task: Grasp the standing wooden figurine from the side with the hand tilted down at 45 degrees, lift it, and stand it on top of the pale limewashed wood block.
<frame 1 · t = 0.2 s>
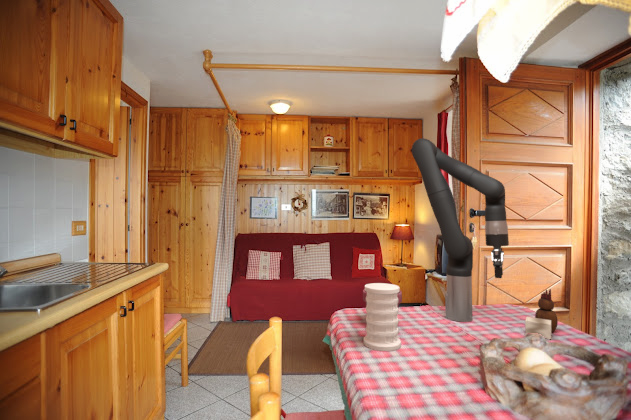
hand: (499, 276, 120), 18 cm above the table, tool pointing down, fingers open, 8 cm apart
decorative container: (382, 344, 101), on the table
limewashed block: (538, 335, 109), on the table
plant pot: (382, 325, 120), on the table
wooden figurine: (546, 331, 114), on the table
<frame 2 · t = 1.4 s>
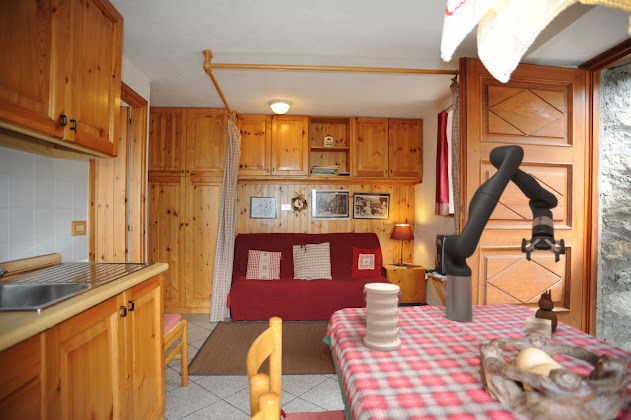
hand: (542, 260, 124), 24 cm above the table, tool tilted 45°, fingers open, 8 cm apart
nothing on the table moved.
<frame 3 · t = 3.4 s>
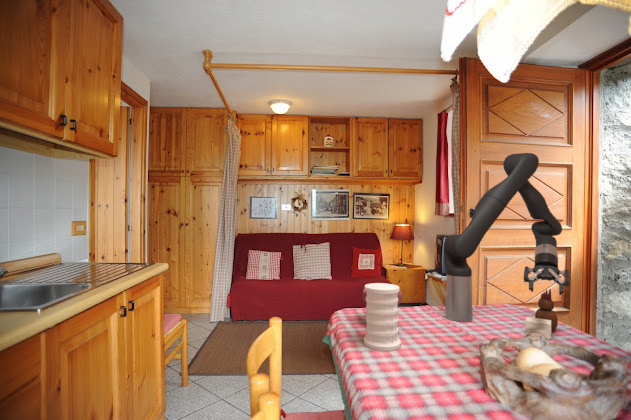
hand: (546, 292, 119), 13 cm above the table, tool tilted 45°, fingers open, 8 cm apart
nothing on the table moved.
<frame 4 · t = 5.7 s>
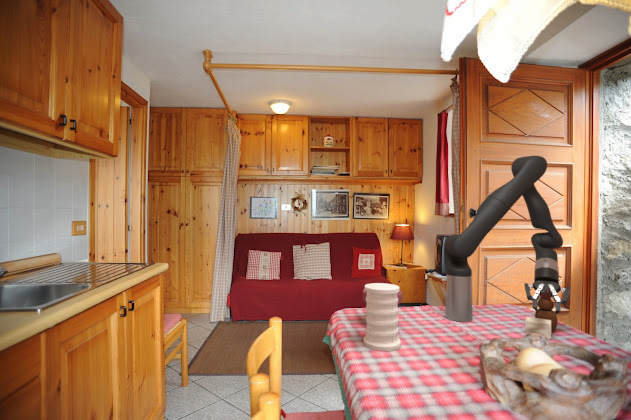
hand: (546, 311, 113), 7 cm above the table, tool tilted 45°, fingers closed on wooden figurine, 5 cm apart
wooden figurine: (546, 331, 114), on the table, touching gripper
everything else where it was.
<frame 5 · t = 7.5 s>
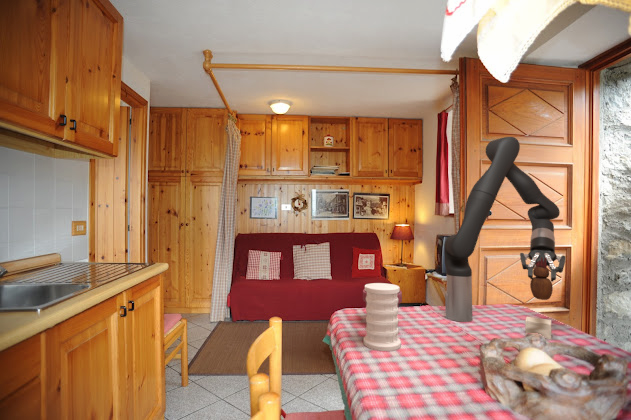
hand: (541, 278, 112), 19 cm above the table, tool tilted 45°, fingers closed on wooden figurine, 5 cm apart
wooden figurine: (541, 299, 113), point 11 cm above the table, touching gripper
everything else where it was.
when the fingers open (14 cm above the table, at t = 9.6 s): wooden figurine drops 1 cm, resting on limewashed block.
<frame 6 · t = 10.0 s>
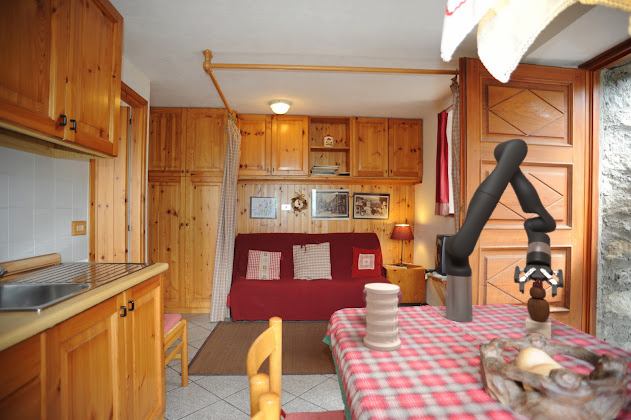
hand: (537, 294, 109), 14 cm above the table, tool tilted 45°, fingers open, 8 cm apart
wooden figurine: (538, 320, 110), point 5 cm above the table, touching limewashed block
everything else where it was.
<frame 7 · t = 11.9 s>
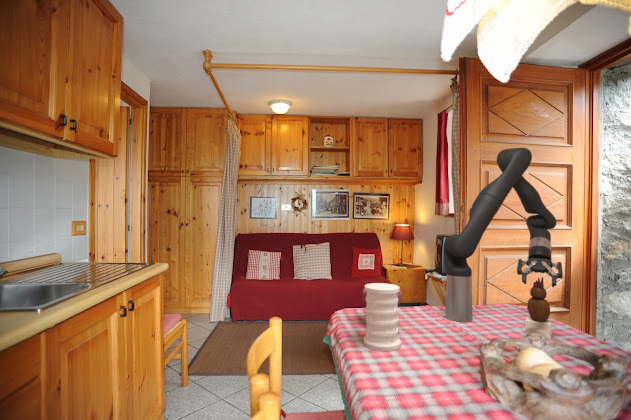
hand: (538, 284, 119), 15 cm above the table, tool tilted 45°, fingers open, 8 cm apart
nothing on the table moved.
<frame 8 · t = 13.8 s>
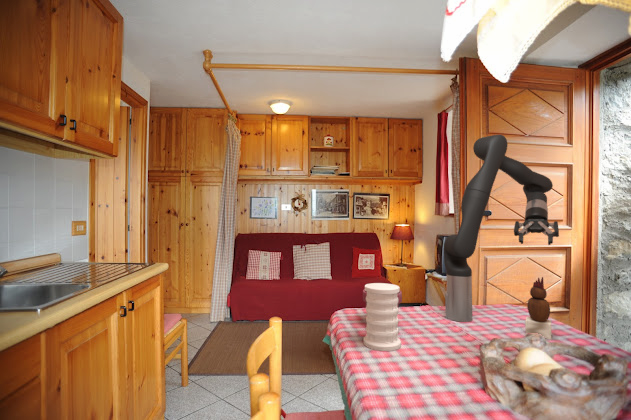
hand: (535, 242, 121), 31 cm above the table, tool tilted 45°, fingers open, 8 cm apart
nothing on the table moved.
at the end: wooden figurine inside the target area on the limewashed block (0.2 cm from its centre), point 4.8 cm above the limewashed block's base; wooden figurine tilted 0°; the gripper is holding nothing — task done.
